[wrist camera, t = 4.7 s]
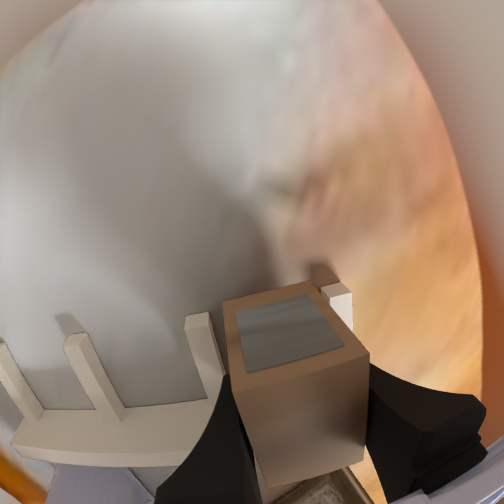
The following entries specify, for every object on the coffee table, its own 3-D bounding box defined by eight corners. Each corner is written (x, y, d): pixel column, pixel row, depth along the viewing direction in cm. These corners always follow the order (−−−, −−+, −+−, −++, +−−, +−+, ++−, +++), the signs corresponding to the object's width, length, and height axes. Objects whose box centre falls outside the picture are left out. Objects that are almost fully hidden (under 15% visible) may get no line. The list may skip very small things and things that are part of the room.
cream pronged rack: (352, 380, 18) (381, 427, 14) (37, 422, 17) (19, 462, 12) (350, 279, 16) (393, 318, 12) (-11, 343, 14) (-43, 380, 10)
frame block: (320, 378, 16) (363, 460, 10) (249, 397, 15) (268, 488, 10) (308, 279, 14) (369, 351, 8) (221, 300, 13) (231, 391, 8)
